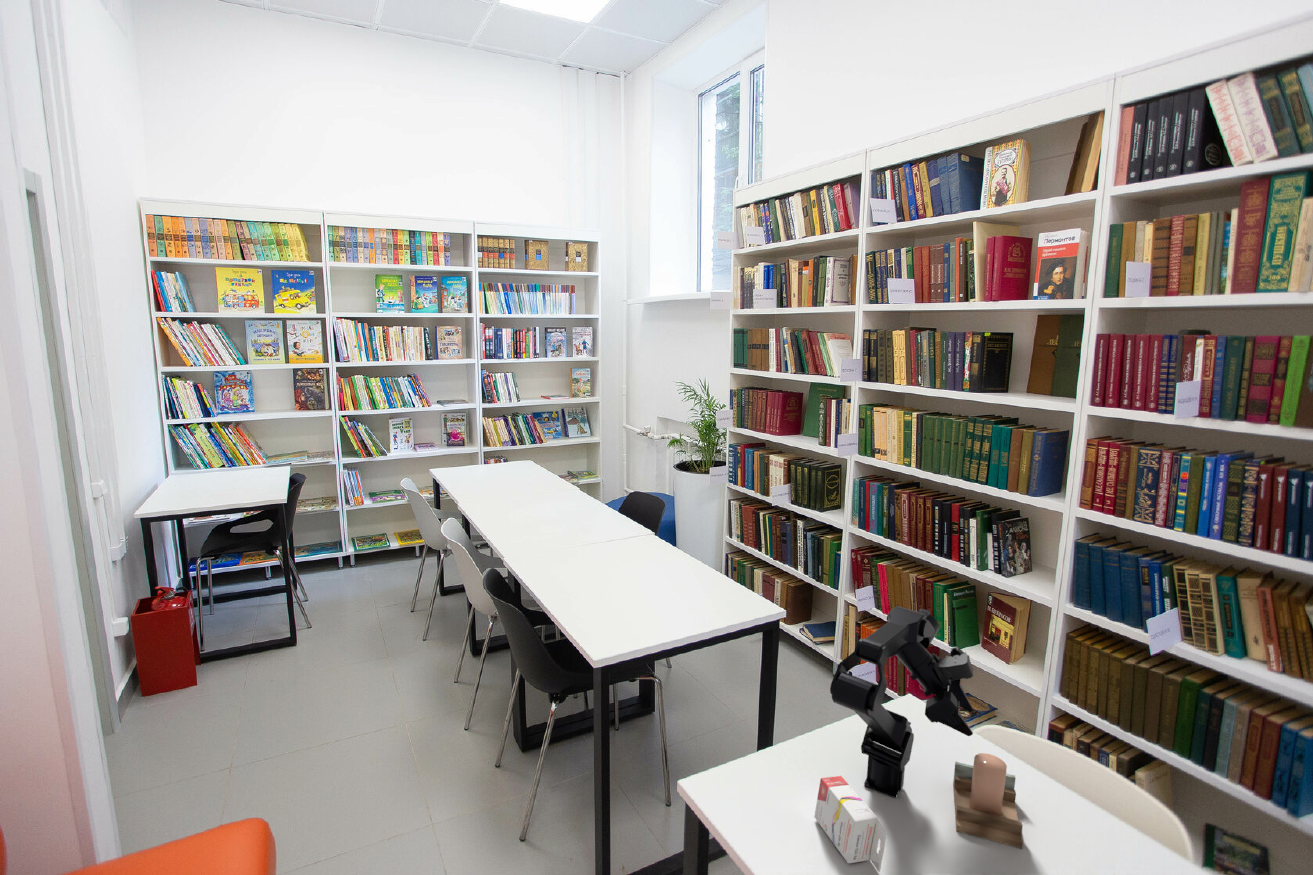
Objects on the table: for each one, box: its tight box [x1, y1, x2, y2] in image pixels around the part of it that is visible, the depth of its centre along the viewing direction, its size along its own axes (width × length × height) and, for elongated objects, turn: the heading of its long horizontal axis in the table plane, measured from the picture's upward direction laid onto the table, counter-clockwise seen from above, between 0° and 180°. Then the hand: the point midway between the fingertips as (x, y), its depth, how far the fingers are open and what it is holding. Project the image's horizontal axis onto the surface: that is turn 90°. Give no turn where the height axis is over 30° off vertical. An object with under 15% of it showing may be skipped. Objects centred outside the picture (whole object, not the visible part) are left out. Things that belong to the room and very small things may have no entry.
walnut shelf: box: [952, 761, 1024, 850], centre depth 127 cm, size 11×14×5 cm
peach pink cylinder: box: [970, 752, 1007, 816], centre depth 127 cm, size 6×6×10 cm
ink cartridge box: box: [813, 775, 888, 872], centre depth 119 cm, size 9×5×15 cm
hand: (971, 722), depth 135 cm, fingers open, 9 cm apart
